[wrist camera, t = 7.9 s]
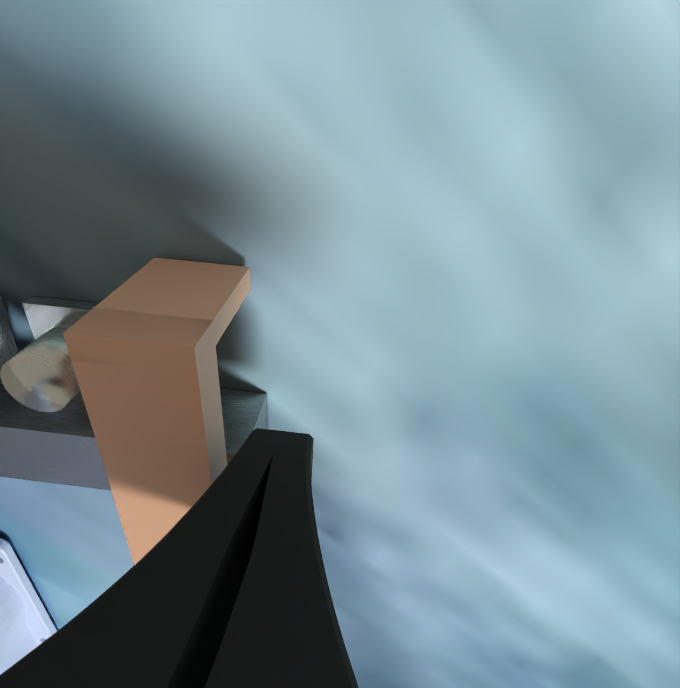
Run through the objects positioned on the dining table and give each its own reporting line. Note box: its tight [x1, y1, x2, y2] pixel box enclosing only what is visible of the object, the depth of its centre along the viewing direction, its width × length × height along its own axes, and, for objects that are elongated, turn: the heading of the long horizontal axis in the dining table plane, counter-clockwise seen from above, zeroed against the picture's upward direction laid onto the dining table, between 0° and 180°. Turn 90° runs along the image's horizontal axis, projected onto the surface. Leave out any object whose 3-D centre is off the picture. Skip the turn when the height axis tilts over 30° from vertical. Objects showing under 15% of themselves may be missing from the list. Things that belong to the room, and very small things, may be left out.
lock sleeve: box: [63, 258, 251, 565], centre depth 11 cm, size 7×2×4 cm, turn 176°
